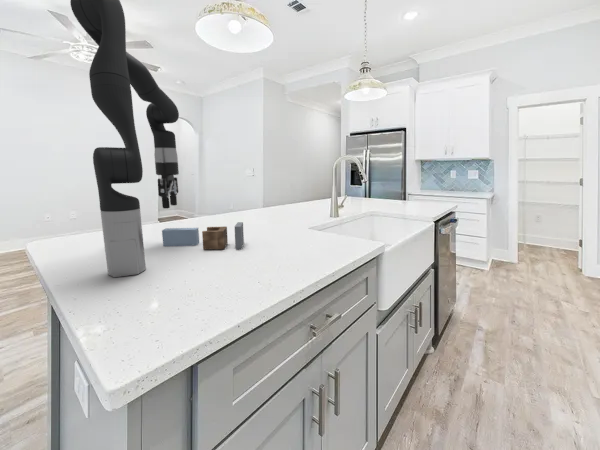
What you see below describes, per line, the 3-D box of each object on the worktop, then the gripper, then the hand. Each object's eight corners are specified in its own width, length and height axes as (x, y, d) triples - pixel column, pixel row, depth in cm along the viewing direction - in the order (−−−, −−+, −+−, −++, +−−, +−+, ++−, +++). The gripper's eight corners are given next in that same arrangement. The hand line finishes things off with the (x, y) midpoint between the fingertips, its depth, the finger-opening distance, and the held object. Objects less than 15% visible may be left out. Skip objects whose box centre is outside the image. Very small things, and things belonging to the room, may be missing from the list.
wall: (235, 249, 110) (234, 226, 108) (238, 243, 118) (237, 222, 117) (241, 249, 110) (240, 226, 108) (243, 243, 119) (243, 222, 117)
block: (203, 249, 109) (202, 231, 108) (208, 243, 118) (207, 226, 116) (223, 248, 109) (222, 231, 108) (227, 242, 118) (226, 226, 117)
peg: (163, 246, 115) (161, 230, 114) (166, 244, 119) (165, 228, 118) (196, 245, 116) (195, 229, 115) (199, 243, 120) (198, 227, 119)
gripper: (162, 161, 118) (166, 204, 121) (147, 161, 104) (152, 209, 107) (183, 161, 119) (186, 204, 122) (170, 161, 105) (174, 209, 108)
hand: (170, 206), depth 115 cm, fingers open, 8 cm apart
